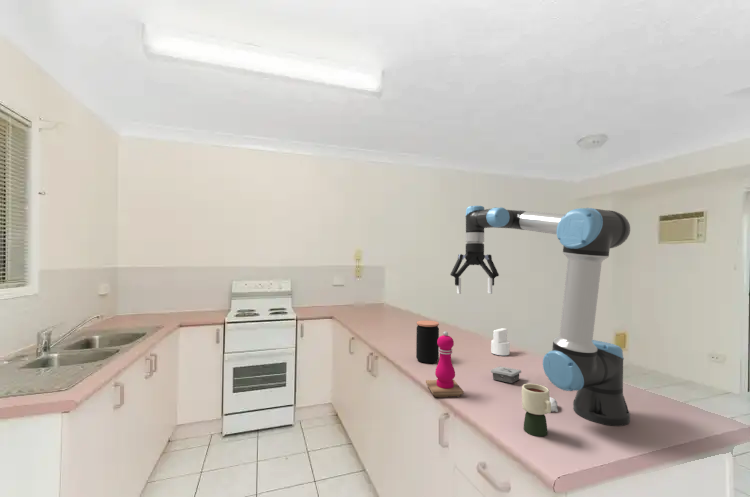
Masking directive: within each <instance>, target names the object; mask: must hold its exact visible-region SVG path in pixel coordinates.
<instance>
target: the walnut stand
mask: <svg viewBox="0 0 750 497" xmlns="http://www.w3.org/2000/svg"><path fill="white" fill-rule="evenodd" d="M453 381H454V386H453V388H449V389H444V388H440V387H438V386H437V384H436V382H437V379H429V380H427V379H426V380H425V383H426V385H427V387H428V388H429V390H430V392H431V394H432V395H433V396H434V398H446V397H447V398H449V397H448V396H458V397H461V395H465V391H464V390H463V389H462V387H461V386H460V385H459V384H458V383H457V382H456V381H455V379H453Z"/></svg>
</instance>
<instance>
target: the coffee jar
mask: <svg viewBox="0 0 750 497" xmlns="http://www.w3.org/2000/svg"><path fill="white" fill-rule="evenodd" d="M439 326H440V324H439V321H435V320H418V321H416V336H415V337H416V339H415V340H416V345H415V346H416V347H415V348H416V352H415V354H416V360H417V361H418V362H420V363H425V364H434V363H438V361H439V359H440V353H439V346H438V344H437V340H438V338H439V337H440V330H439Z"/></svg>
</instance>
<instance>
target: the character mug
mask: <svg viewBox="0 0 750 497" xmlns="http://www.w3.org/2000/svg"><path fill="white" fill-rule="evenodd" d="M550 397H551V395H550V389H549V388H548V387H546V386H545V385H542V384H537V383H524V384H522V386H521V406H522V409H523V410H524V411H525V415H524V421H523V431H524V432H525V433H527V435H530V436H532V437H533V436H534V437H547V436H548V433H549V432H548V425H547V418H546V415H547V414H551V413H552V412H551V402H550Z"/></svg>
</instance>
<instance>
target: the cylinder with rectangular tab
mask: <svg viewBox="0 0 750 497" xmlns="http://www.w3.org/2000/svg"><path fill="white" fill-rule="evenodd" d="M492 333H493V334H492V335H493V336H492V338H493V339H491V341H490V352H491V354H494V355H497V356H509V355H510V354H511V353H510V341H509V340H508V328H504V327H501V328H497V329H494V330H493V332H492Z"/></svg>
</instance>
